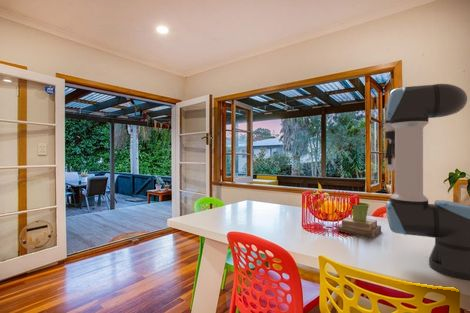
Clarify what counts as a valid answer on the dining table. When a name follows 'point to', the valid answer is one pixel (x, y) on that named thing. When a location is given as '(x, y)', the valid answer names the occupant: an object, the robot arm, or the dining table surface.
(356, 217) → the plant pot
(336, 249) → the dining table surface
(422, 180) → the robot arm
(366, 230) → the plinth
